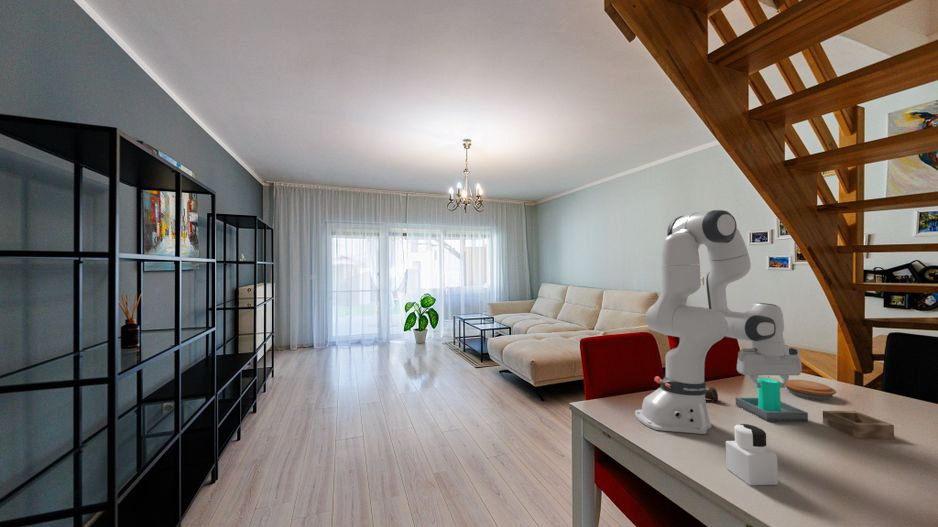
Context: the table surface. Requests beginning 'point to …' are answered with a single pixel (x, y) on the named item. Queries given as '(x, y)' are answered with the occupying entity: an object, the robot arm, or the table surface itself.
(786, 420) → the tray
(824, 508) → the table surface
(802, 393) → the pie
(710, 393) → the dark brown oblong piece
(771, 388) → the teal green prism
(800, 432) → the table surface
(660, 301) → the robot arm
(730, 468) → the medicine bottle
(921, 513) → the table surface
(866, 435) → the brown wooden open box
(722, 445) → the table surface
